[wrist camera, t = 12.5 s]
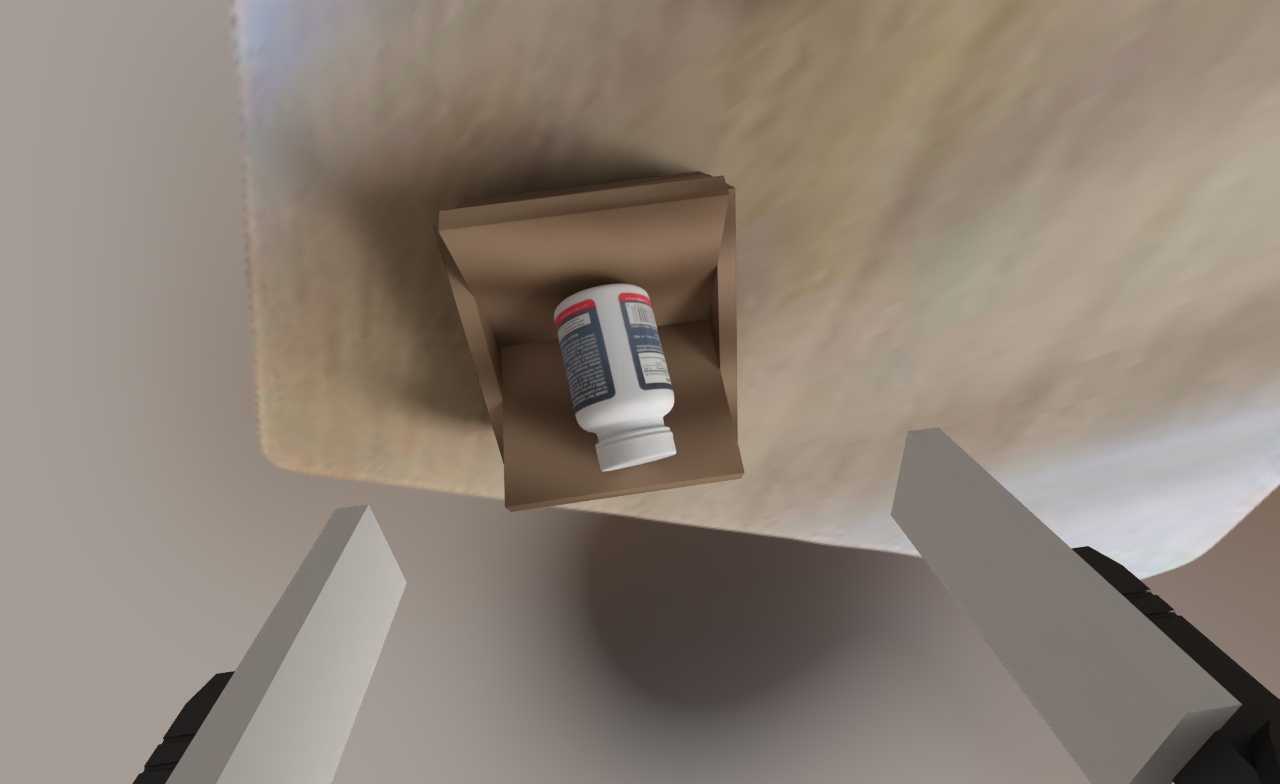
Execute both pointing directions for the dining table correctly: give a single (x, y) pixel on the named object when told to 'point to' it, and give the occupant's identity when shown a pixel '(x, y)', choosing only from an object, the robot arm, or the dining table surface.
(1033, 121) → the dining table surface
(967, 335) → the dining table surface
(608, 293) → the pill bottle
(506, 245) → the wooden box with flaps
